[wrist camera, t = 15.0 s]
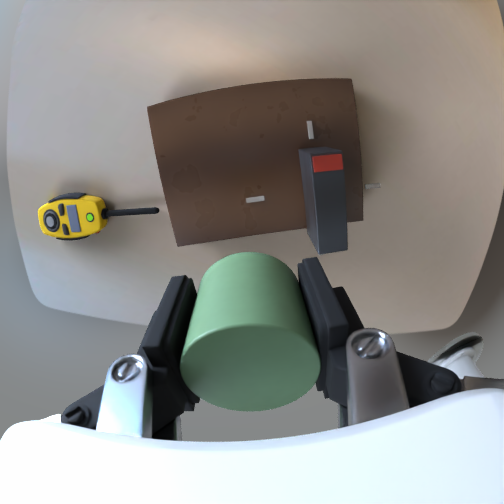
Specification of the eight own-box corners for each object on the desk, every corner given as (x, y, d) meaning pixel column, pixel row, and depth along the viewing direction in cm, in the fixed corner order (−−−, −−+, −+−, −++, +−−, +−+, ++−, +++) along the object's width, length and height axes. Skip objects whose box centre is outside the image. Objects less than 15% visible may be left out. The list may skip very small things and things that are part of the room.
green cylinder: (302, 328, 11) (319, 403, 8) (211, 339, 12) (201, 414, 8) (296, 244, 10) (323, 313, 6) (187, 259, 10) (158, 331, 6)
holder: (332, 230, 22) (349, 252, 18) (307, 234, 22) (319, 256, 18) (325, 146, 19) (344, 150, 15) (298, 149, 19) (310, 153, 16)
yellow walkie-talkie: (32, 202, 21) (152, 187, 21) (42, 196, 23) (159, 182, 23) (41, 243, 23) (158, 240, 24) (51, 236, 25) (164, 232, 25)
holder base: (366, 233, 26) (379, 246, 23) (191, 258, 27) (184, 274, 24) (356, 84, 19) (370, 79, 17) (158, 109, 20) (145, 106, 18)
